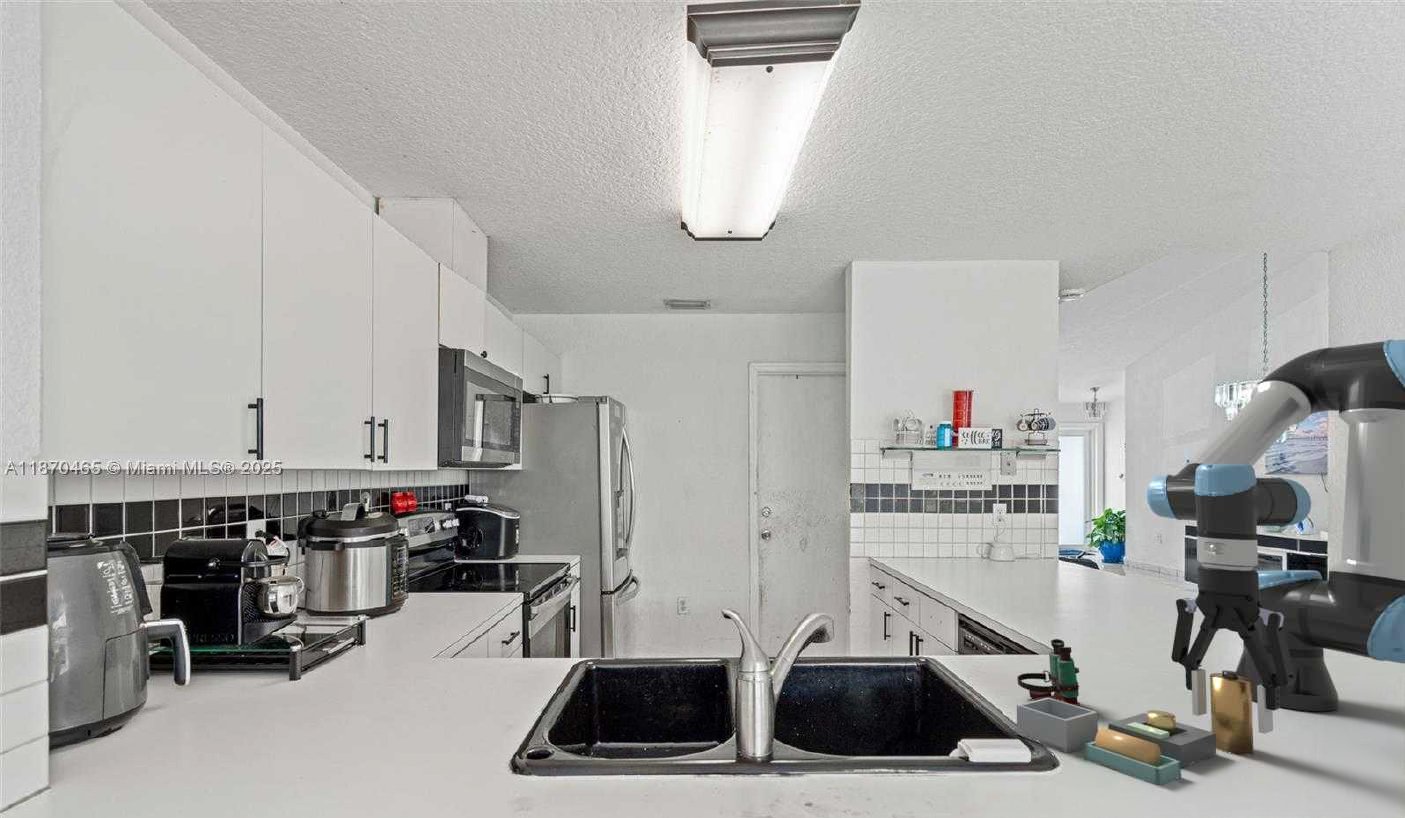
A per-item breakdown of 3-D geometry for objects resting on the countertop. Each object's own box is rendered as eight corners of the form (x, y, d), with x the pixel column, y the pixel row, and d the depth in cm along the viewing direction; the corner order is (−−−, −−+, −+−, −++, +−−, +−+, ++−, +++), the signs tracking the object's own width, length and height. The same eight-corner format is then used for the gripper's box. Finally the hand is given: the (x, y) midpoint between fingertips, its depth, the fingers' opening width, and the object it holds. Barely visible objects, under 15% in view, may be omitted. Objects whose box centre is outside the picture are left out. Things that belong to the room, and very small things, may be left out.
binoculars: (1009, 639, 136) (1068, 637, 134) (1016, 698, 135) (1075, 697, 133) (1020, 650, 127) (1083, 648, 125) (1027, 714, 126) (1091, 713, 124)
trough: (1106, 751, 108) (1105, 722, 108) (1180, 776, 99) (1180, 745, 100) (1084, 758, 105) (1084, 728, 105) (1159, 785, 96) (1158, 752, 97)
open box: (1048, 726, 118) (1048, 697, 118) (1098, 743, 111) (1097, 712, 111) (1016, 735, 114) (1016, 705, 114) (1066, 753, 107) (1066, 720, 107)
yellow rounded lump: (1154, 725, 112) (1154, 708, 112) (1180, 733, 109) (1180, 715, 109) (1142, 729, 110) (1141, 712, 110) (1168, 737, 107) (1167, 719, 107)
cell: (1221, 740, 114) (1219, 666, 115) (1259, 750, 109) (1257, 674, 110) (1205, 745, 111) (1203, 670, 112) (1244, 757, 107) (1241, 678, 108)
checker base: (1144, 732, 116) (1144, 708, 116) (1216, 754, 108) (1215, 728, 108) (1108, 744, 111) (1108, 719, 111) (1181, 768, 102) (1180, 740, 103)
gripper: (1142, 559, 119) (1145, 706, 117) (1300, 577, 102) (1306, 750, 100) (1166, 557, 123) (1170, 699, 121) (1322, 574, 105) (1329, 740, 104)
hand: (1231, 722), depth 111 cm, fingers open, 8 cm apart
